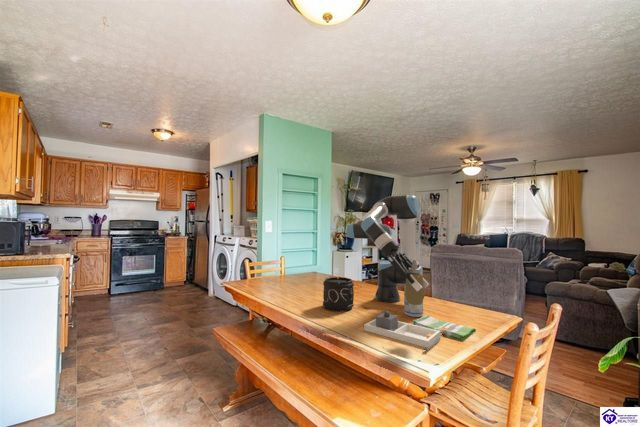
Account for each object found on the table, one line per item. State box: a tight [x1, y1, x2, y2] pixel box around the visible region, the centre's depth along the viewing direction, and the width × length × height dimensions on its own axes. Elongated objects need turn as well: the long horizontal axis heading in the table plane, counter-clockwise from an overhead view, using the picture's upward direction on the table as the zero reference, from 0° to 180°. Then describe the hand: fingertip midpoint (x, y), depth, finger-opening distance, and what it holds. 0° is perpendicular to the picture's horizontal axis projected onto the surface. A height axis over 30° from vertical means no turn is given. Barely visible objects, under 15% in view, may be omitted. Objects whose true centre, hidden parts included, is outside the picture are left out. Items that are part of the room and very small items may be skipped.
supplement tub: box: [403, 288, 424, 318], centre depth 157 cm, size 10×10×15 cm
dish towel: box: [411, 315, 477, 342], centre depth 136 cm, size 17×23×4 cm
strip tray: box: [363, 318, 441, 351], centre depth 127 cm, size 14×28×4 cm, turn 50°
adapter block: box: [375, 310, 399, 331], centre depth 132 cm, size 7×7×8 cm
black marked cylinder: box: [322, 276, 355, 313], centre depth 169 cm, size 18×18×16 cm
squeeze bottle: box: [404, 259, 426, 305], centre depth 124 cm, size 8×8×18 cm
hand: (423, 287), depth 122 cm, fingers closed on squeeze bottle, 6 cm apart
